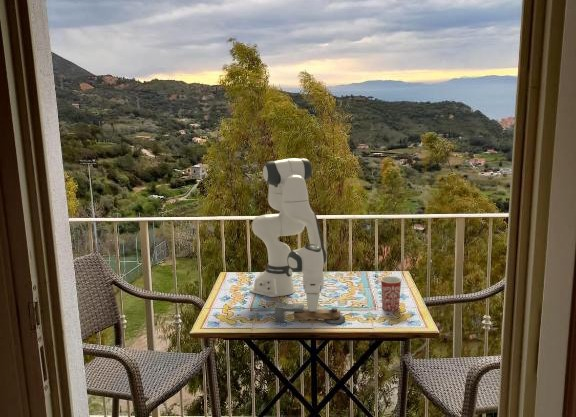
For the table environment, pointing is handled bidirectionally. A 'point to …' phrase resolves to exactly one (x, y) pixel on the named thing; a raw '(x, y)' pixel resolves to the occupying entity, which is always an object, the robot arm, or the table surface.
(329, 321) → the pivot base
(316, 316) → the walnut link
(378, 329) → the table surface
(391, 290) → the mug
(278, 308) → the keeper
